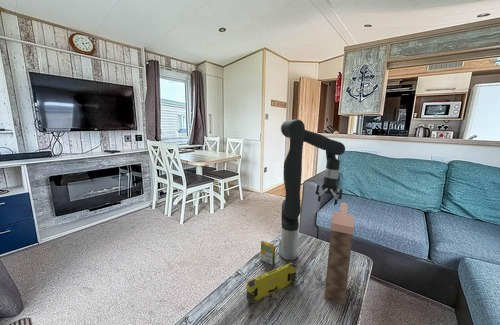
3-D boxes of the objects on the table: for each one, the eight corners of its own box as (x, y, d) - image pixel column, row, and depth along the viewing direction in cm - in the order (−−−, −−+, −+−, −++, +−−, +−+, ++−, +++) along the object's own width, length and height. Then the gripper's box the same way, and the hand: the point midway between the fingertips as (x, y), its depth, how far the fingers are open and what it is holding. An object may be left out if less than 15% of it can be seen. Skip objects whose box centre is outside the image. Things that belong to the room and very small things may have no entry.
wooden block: (324, 297, 90) (330, 228, 85) (327, 279, 101) (333, 217, 95) (344, 304, 87) (352, 233, 81) (345, 285, 98) (352, 220, 92)
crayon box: (274, 261, 113) (275, 242, 111) (272, 265, 111) (273, 244, 109) (262, 257, 117) (263, 238, 115) (260, 260, 115) (260, 240, 112)
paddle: (330, 230, 84) (331, 222, 83) (335, 207, 107) (335, 201, 106) (352, 234, 80) (353, 227, 80) (352, 210, 103) (353, 204, 103)
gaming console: (290, 278, 101) (292, 260, 100) (297, 284, 98) (298, 265, 96) (244, 300, 88) (244, 279, 87) (249, 308, 85) (250, 286, 83)
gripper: (317, 175, 121) (313, 202, 124) (344, 179, 116) (339, 208, 118) (319, 173, 128) (315, 199, 131) (344, 177, 122) (340, 204, 125)
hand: (327, 203), depth 124 cm, fingers open, 8 cm apart
